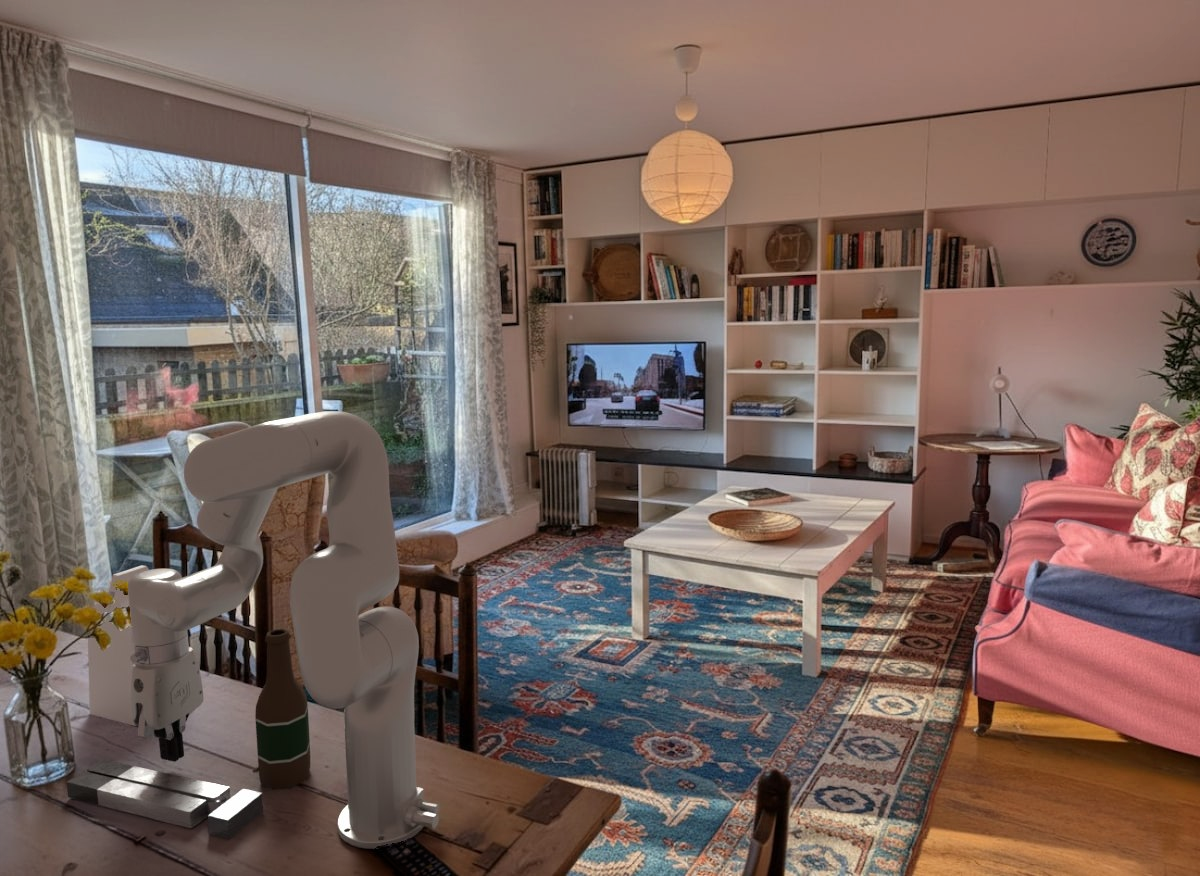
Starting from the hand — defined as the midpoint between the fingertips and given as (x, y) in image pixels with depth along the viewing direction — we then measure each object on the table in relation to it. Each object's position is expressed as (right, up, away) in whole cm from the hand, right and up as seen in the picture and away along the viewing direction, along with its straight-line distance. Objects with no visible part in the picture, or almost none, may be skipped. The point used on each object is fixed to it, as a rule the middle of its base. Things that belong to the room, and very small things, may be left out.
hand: (172, 757), depth 131 cm
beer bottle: (+19, -3, -2) cm, 19 cm away
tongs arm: (+2, -3, -8) cm, 9 cm away
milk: (-17, +1, +21) cm, 27 cm away
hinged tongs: (+4, -3, -9) cm, 11 cm away
